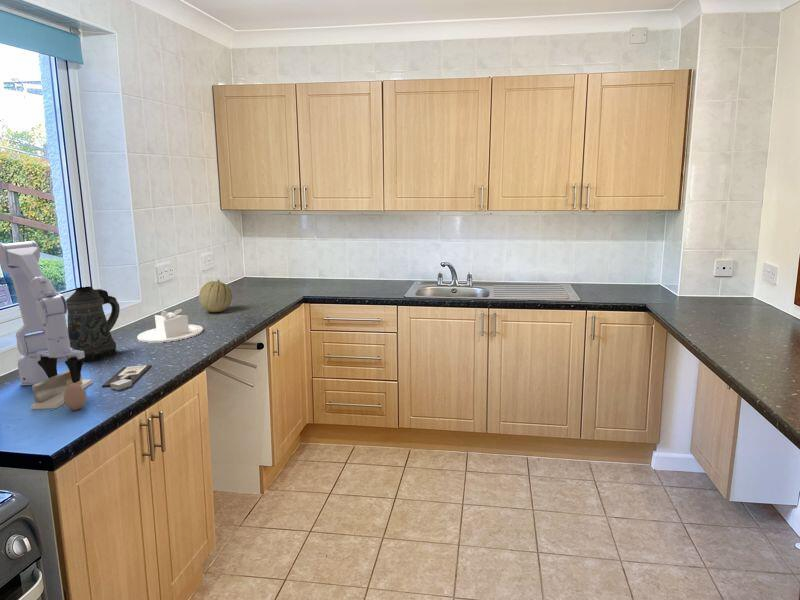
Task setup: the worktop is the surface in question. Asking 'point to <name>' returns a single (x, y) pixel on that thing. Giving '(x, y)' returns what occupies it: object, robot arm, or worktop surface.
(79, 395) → the egg
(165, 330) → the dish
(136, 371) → the chocolate bar
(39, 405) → the flat cream panel
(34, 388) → the tall tan wooden post
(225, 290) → the cantaloupe
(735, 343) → the worktop surface
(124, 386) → the lighter
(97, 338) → the beer stein
